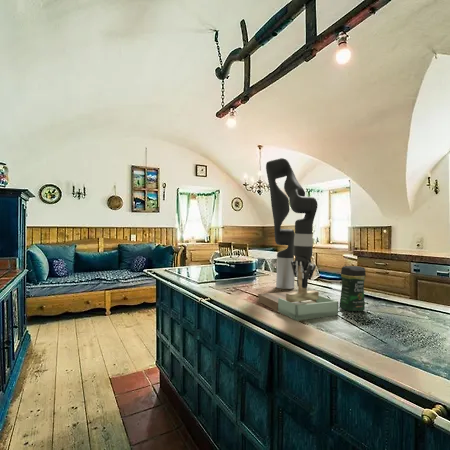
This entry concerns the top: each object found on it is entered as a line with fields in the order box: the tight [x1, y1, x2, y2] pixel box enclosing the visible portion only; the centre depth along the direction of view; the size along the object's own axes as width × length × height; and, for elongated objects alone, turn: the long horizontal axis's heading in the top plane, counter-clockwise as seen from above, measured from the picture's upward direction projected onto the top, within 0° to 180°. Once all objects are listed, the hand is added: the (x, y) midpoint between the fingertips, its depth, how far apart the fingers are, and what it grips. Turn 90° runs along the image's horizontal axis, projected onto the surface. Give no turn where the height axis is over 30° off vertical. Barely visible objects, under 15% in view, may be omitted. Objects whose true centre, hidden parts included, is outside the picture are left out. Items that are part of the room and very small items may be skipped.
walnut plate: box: [257, 290, 316, 312], centre depth 131 cm, size 20×16×4 cm
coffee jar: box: [339, 265, 367, 312], centre depth 125 cm, size 10×8×19 cm
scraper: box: [286, 266, 320, 303], centre depth 121 cm, size 14×3×14 cm, turn 113°
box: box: [277, 294, 339, 321], centre depth 118 cm, size 20×12×6 cm, turn 113°
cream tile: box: [301, 300, 317, 304], centre depth 122 cm, size 5×5×2 cm
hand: (302, 286), depth 121 cm, fingers closed on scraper, 2 cm apart
